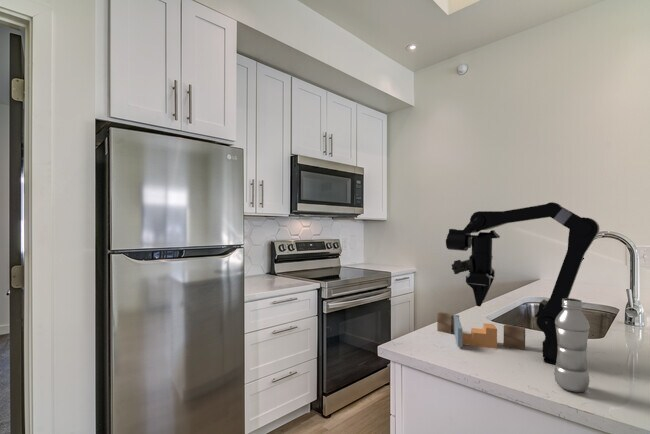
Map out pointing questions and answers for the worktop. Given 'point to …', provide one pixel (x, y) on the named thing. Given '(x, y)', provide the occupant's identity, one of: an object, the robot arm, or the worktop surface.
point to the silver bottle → (572, 347)
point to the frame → (512, 334)
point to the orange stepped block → (481, 336)
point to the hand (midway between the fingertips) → (480, 303)
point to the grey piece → (457, 330)
